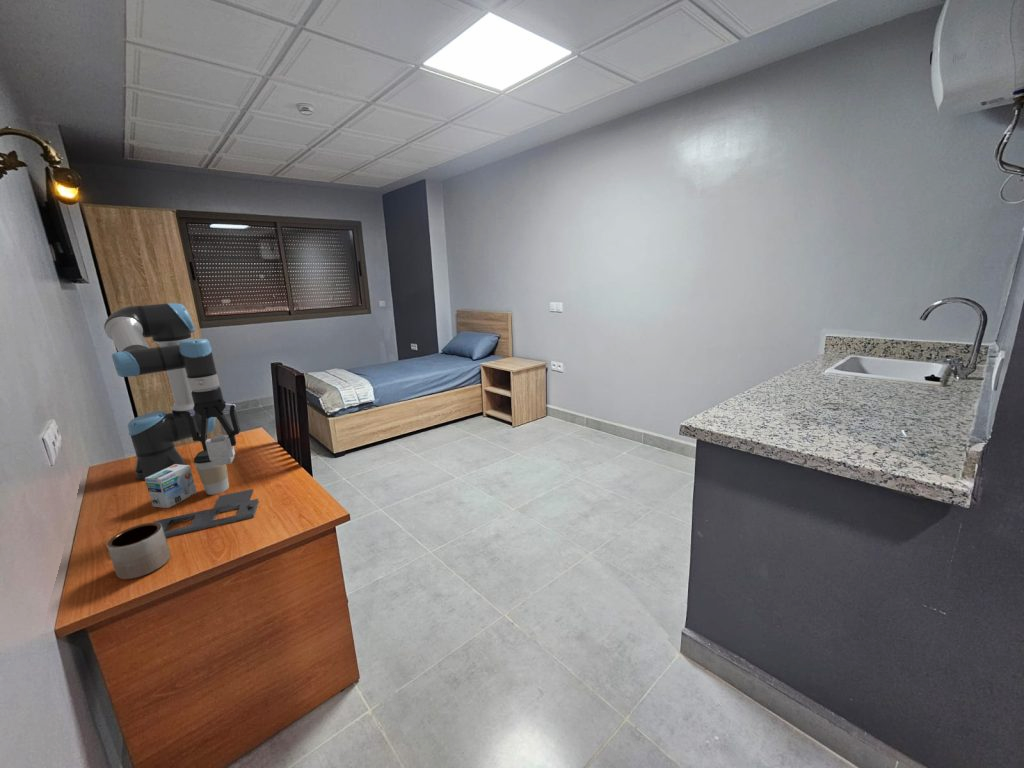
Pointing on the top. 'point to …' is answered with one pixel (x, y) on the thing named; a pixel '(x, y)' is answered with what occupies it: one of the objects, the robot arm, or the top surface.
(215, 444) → the grey square block
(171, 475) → the light bulb box
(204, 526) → the rack rail
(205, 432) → the robot arm
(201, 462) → the coffee cup
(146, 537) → the planter
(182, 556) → the top surface
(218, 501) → the rubber mat
